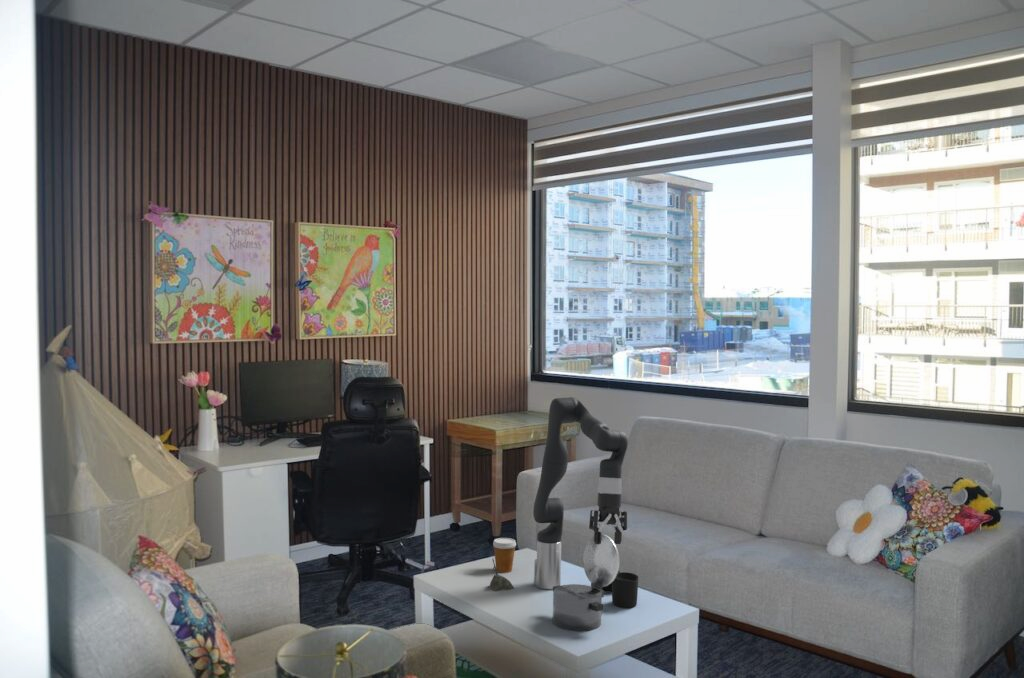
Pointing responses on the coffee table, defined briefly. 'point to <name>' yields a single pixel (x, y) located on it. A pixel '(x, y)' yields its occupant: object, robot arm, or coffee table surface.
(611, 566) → the cooker lid
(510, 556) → the disposable coffee cup
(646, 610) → the coffee table surface
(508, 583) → the sword in stone
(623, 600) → the pen holder
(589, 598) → the cooker pot
